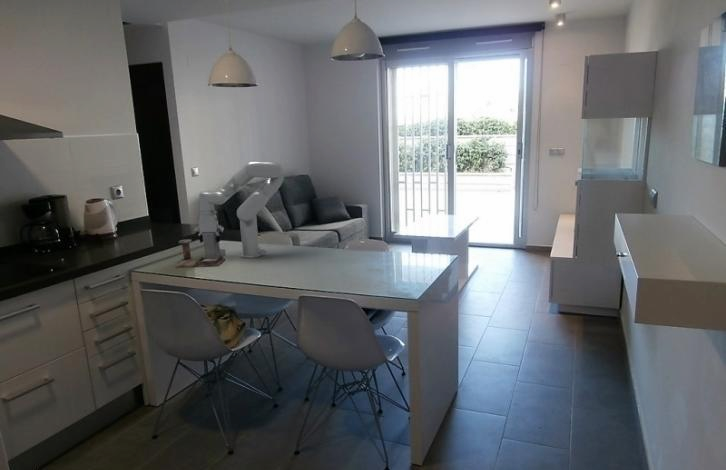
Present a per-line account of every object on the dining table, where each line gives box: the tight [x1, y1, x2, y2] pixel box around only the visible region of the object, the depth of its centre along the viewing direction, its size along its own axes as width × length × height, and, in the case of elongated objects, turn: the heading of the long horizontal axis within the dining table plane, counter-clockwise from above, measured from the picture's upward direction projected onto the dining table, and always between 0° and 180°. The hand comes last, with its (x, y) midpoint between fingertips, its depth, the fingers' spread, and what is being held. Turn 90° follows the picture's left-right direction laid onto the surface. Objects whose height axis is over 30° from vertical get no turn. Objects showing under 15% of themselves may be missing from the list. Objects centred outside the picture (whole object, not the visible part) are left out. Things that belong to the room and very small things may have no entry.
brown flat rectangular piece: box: [175, 255, 226, 269], centre depth 278 cm, size 24×12×3 cm, turn 88°
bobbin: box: [178, 238, 195, 262], centre depth 287 cm, size 7×7×12 cm
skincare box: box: [202, 233, 222, 259], centre depth 289 cm, size 8×7×16 cm
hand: (210, 242), depth 288 cm, fingers open, 9 cm apart
